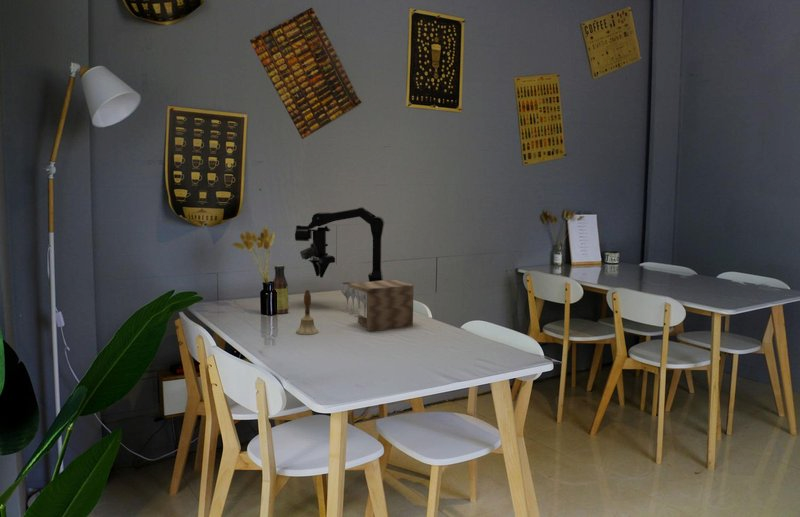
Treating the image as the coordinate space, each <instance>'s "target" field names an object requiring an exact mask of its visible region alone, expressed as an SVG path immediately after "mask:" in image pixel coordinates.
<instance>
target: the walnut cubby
mask: <svg viewBox="0 0 800 517" xmlns="http://www.w3.org/2000/svg"><path fill="white" fill-rule="evenodd" d="M349 287H350V288H353V289H356V290H359V291H362V292H365V293H367V305H366V316H365V317H363V316H364V315H362V316H358V317H357V323H358V324H360V325H363V326H366V332H367V333H371V332H376V331H384V330H391V329H392V330H393V329H399V328H405V327H412V326H413V325H414V289H415V288H414V285H413V284H410V283H407V282H403V281H401V280H396V279H383V280H382V281H371V282H369V281H363V282H361V281H360V282H350V284H349Z"/></svg>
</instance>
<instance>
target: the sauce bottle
mask: <svg viewBox="0 0 800 517" xmlns="http://www.w3.org/2000/svg"><path fill="white" fill-rule="evenodd" d="M274 273H275V274H274V279H273V281H272V283H273V282H274V289H275V290H276V292H277V313H276V314H279V315H280V314H288V312H289V285H288V281H287V279H286V276H285V265H283V264H281V265H278V264H277V265H274Z"/></svg>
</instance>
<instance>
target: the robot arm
mask: <svg viewBox="0 0 800 517" xmlns="http://www.w3.org/2000/svg"><path fill="white" fill-rule="evenodd" d="M354 218H360V219H362V220H364V222H365V223H367V224H369V227H370V232H371V237H372V271H371V272H369V273H368V275H367V276H368V282H371V281H382V280H384V276H383V271H382V236H383V233H384V227H385V220H384V218H383V217H381V216H380V215H379V216H378V215H377V216H376V215H375V214H374V213H372V212H370V211H369V210H367V209H366V208H365V207H363V206H359V207H358V208H352V209H347V210H341V211H335V212H334V211H332V212H330V211H329V212H328V211H325V212H323V211H322V212H321V211H320V212H317V213H314V214H313V215H312V217H311V222H310V223H308V225H296V227H295V231H294V232H295V233H294V239H295V242H309V241H310V240H312V243H310V245H309V246H310V247H307V248H305V249H303V250H301V251H300V252H299V253H300V257H301V259H302V260H306V261H308V262H310V264H312V267H313V269H314V273H315V276H316V277H320V278H323V277H324V276H325V273H326V271H327V269H328V267H329V265H330V264H333V263H334V264H335V263H336V257H335V256H334V255H332V254H331V255H329V253H327V247H329V246H328V245H329V244H328V243H327V232H330V231H331V228H329V226H328V224H329V223H333V222H337V221H343V220H349V219H354ZM316 227H317V229H314V228H316Z"/></svg>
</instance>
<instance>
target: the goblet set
mask: <svg viewBox="0 0 800 517" xmlns="http://www.w3.org/2000/svg"><path fill="white" fill-rule="evenodd" d="M350 283H351V282H350V281H348V282H346V281H345V282H342V284H341V286H340V292H341V293H342V295H343V296H344V297H345V299H346V306H347V307H346V309H343V310H341V311H342V312H343V313H348V315H354V316H353V317H354V318H358V316H363V317H365V318H366V314H367V293H365V292H362V291H359V290H356V289H353V288H350V287H349V284H350ZM350 298H351V300H352V309H349V299H350ZM355 299H356V301H357V304H358V308H360V304H361V303H362V304H363V307H364V308H363V309H364V313H363V314H364V315H361V314H359V312H355V310H354V309H355V307H354V304H355Z"/></svg>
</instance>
